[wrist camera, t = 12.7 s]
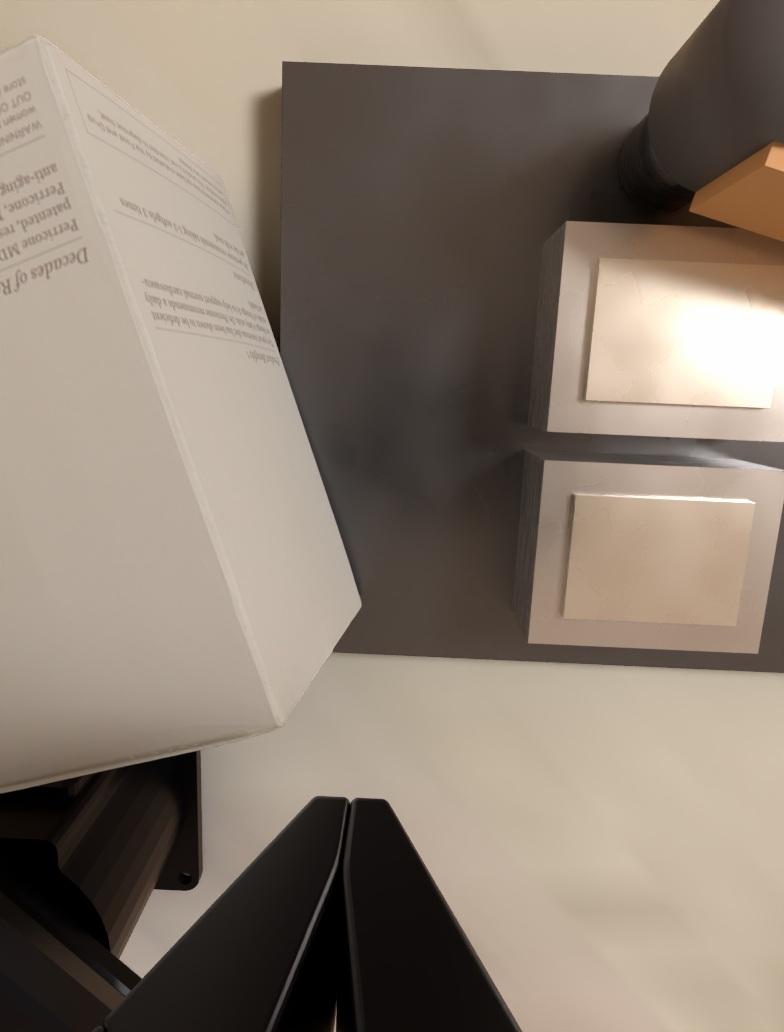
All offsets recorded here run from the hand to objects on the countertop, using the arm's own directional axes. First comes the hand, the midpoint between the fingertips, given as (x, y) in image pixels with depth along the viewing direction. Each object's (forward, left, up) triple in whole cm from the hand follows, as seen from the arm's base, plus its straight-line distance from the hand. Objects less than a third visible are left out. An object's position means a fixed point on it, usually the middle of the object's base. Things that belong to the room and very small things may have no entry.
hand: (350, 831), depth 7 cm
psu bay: (+5, -7, -13) cm, 16 cm away
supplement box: (+9, +9, -9) cm, 16 cm away
